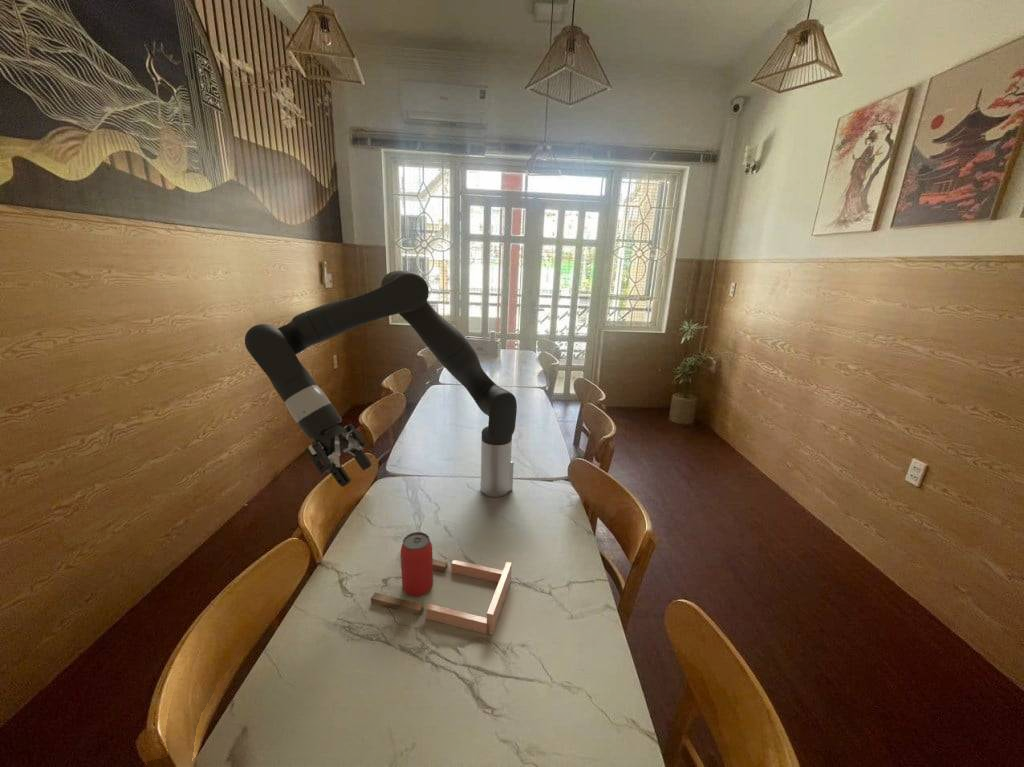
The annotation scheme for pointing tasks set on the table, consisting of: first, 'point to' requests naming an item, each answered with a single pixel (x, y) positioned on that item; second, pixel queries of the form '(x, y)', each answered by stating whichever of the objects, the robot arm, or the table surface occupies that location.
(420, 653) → the table surface
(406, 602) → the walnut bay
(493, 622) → the terracotta bay
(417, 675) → the table surface
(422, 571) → the beer can
